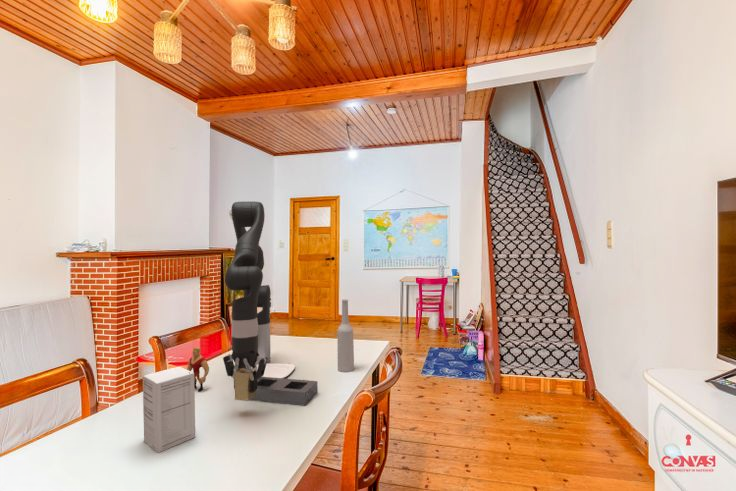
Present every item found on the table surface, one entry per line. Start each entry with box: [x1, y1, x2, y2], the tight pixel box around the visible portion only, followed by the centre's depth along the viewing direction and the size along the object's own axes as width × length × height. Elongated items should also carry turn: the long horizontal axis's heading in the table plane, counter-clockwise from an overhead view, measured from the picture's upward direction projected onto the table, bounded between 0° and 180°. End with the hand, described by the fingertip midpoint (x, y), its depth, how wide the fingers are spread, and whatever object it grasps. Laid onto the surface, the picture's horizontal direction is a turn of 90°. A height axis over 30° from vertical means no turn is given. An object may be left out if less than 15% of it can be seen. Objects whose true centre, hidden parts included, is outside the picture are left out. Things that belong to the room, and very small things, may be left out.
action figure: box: [186, 346, 210, 392], centre depth 125 cm, size 10×4×15 cm, turn 70°
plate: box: [257, 362, 296, 379], centre depth 140 cm, size 18×18×2 cm
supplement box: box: [142, 366, 196, 453], centre depth 92 cm, size 10×9×17 cm
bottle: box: [336, 299, 355, 373], centre depth 145 cm, size 7×7×28 cm
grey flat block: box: [249, 377, 319, 407], centre depth 118 cm, size 22×10×4 cm, turn 76°
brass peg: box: [233, 368, 256, 402], centre depth 106 cm, size 4×4×8 cm
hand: (245, 390), depth 106 cm, fingers closed on brass peg, 4 cm apart
